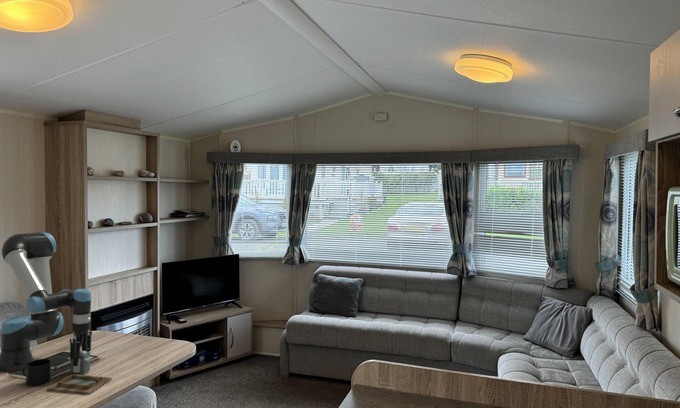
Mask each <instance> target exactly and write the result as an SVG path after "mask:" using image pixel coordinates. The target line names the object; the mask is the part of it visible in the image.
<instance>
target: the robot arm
mask: <svg viewBox="0 0 680 408" xmlns="http://www.w3.org/2000/svg"><path fill="white" fill-rule="evenodd" d="M56 251H57V242H56V240H55V237H54V236H53V235H52V234H51V233H49V232H40V231H39V232H27V233H16V234H13V235H11V236H9V237H7V238H6V240H5V241H4V242H3V244H2V248H1V256H2V259H3V261H4V262H5V263H6V264H7V265H9V266H10V268H11V269H12V271H13V273H14V275H15V276H16V278H17V280H18V282H19V283H20V285H21V287H22V288H23V291H24V293H25V294H26V296H27V298H28V299H27V300H26V303H25V304H26V309H27V311H28V312H29V314H30V315H25V314H23V315H16V316H11V317H10V318H8V319H5V320H4V321H3V322H2V324H1V330H0V334H1V335H0V336H1V337H0V339H1V342H0V344H1V345H0V348H1V349H0V372H13V371H15V372H16V371H20V369H21V370H23V368H25V367H26V365H27V363H28V362H30V361H33V360H35V358H34V356H33V353H32V350H31V342H33V341H37V340H42V339H45V338H52V337H54V336H56V335H59V334H60V333H61V331H62V329H63V327H64V317H63V314H62V313H61V312H60V311H58V310H59V309H64V308H71V309H72V320H71V321H72V327H71V328H72V329H71V330H72V331H73V333H74V334H73V337H72V338H69V357H70V359H73V366H74V370H73V372H78V373H79V372H80V358H79V354H80V351H86V352H90V353H91V351H92V335H93V331H92V330H90V329H91V311H92V310H91V309H92V308H91V307H92V292H91V290H90V289H89V288H78V289H75V290H72V289H62V290H61V291H59V292H56V293H54V292H53V291H52V289H53V288H52V279H51V277H52V276H51V267H50V260H51V258H53V255H54V253H55V252H56ZM76 356H77V357H76Z"/></svg>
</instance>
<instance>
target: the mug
mask: <svg viewBox="0 0 680 408" xmlns="http://www.w3.org/2000/svg"><path fill="white" fill-rule="evenodd" d="M21 370H22V371H21V373H22V375H23V376H24V377H25V379H26V380H25V381H26V382H25V385H26V386H29V387H40V386H43V385H47V384H49V382H51V380H52V378H51V376H52V375H51V374H52V360H51V359H49V358H39V359H34V360H33V361H30V362H28V363H27V365H26V367H25V368H23V369H21ZM25 371H26V372H25Z"/></svg>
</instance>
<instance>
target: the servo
mask: <svg viewBox="0 0 680 408" xmlns="http://www.w3.org/2000/svg"><path fill="white" fill-rule="evenodd" d="M76 357H77V356H76ZM79 358H80V372H79V373H78V372H73V370H74V366H73V359H70V356H69V357H67V358H66V359H67V360H69V361H70V362H69V363H70V365H69V366H70V367H69V373H70V374H77V375H86V373H88V372H90V371H91V360H92V359H94V356H91V351H90V352H86V351H82V350H80V354H79Z"/></svg>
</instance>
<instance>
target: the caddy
mask: <svg viewBox="0 0 680 408" xmlns="http://www.w3.org/2000/svg"><path fill="white" fill-rule="evenodd" d="M110 380H111V381H112V377H109V376H107V377H106V376H98V375H97V376H96V375H87V374H76V373H70V374H69V375H68V376H66V377H64V378H63V379H61V380H59V381H58V382H55V383H54V384H52V385H50V386H49V387H47V388H46V391H47V392H55V393H66V394H78V395H86V394H90V395H92V394H93V393H94V392H96V391H98V390H99V389H101V388H102V387H103V386H105V385H106V384H107V382H108V383H109V382H111V381H110ZM104 384H105V385H104ZM101 386H102V387H101ZM98 388H99V389H98ZM95 390H96V391H95ZM91 393H92V394H91Z"/></svg>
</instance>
